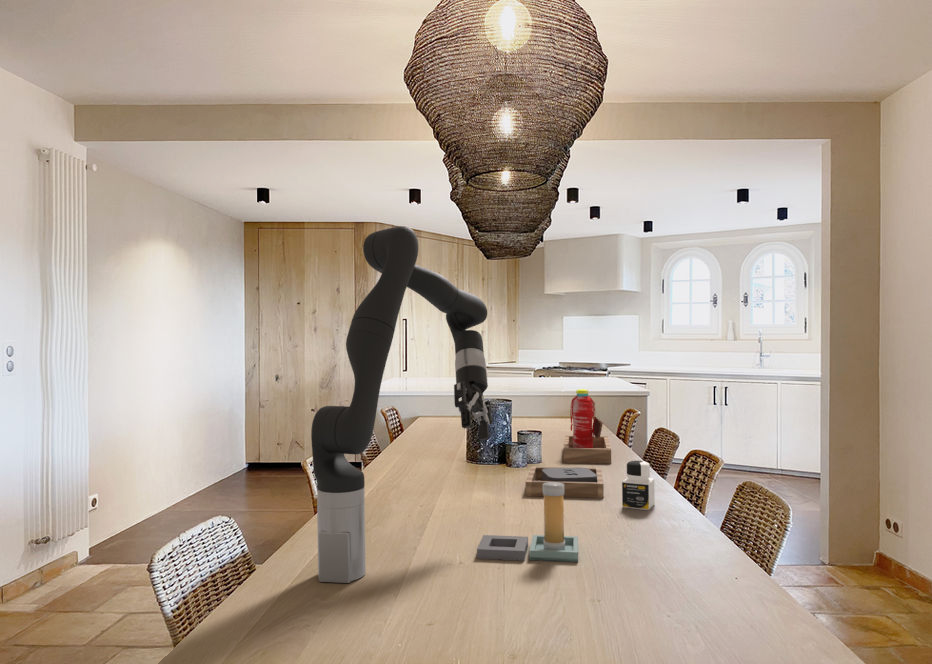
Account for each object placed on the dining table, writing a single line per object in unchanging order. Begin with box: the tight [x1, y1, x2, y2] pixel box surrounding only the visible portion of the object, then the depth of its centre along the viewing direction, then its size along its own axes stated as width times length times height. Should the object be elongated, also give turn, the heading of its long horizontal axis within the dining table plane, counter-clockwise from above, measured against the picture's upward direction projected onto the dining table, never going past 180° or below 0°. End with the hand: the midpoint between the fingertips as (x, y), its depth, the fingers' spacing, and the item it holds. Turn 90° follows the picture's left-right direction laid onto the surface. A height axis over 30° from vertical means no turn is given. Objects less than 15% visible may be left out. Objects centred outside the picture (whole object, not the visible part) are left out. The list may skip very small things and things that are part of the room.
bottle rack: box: [562, 435, 612, 464], centre depth 261 cm, size 30×17×5 cm, turn 171°
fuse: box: [543, 482, 565, 550], centre depth 148 cm, size 5×5×14 cm
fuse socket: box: [476, 534, 529, 561], centre depth 149 cm, size 10×10×2 cm
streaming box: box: [542, 466, 597, 482], centre depth 207 cm, size 14×14×5 cm
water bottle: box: [569, 388, 604, 448], centre depth 261 cm, size 12×8×25 cm, turn 80°
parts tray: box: [529, 534, 579, 563], centre depth 148 cm, size 11×10×2 cm
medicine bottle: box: [621, 460, 656, 511], centre depth 186 cm, size 7×7×12 cm
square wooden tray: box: [525, 466, 605, 499], centre depth 208 cm, size 22×22×4 cm
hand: (475, 433), depth 159 cm, fingers open, 8 cm apart
